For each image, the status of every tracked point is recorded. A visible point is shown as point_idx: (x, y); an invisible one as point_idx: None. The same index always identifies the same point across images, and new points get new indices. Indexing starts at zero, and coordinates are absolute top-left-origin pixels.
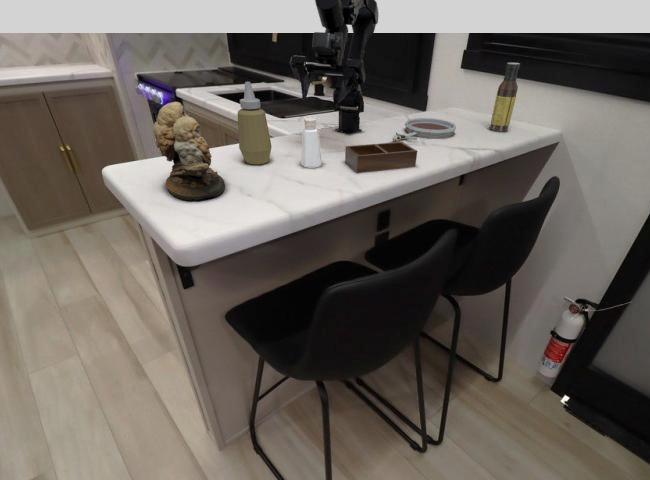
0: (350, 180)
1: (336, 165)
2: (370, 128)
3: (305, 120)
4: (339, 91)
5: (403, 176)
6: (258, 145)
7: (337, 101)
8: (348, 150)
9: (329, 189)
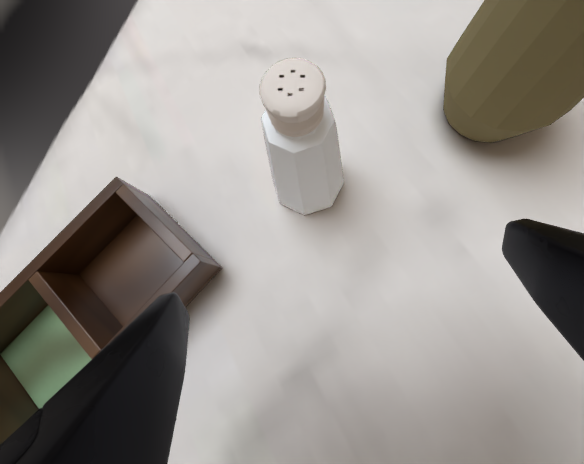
0: (146, 135)
1: (233, 221)
2: None
3: (302, 59)
4: (129, 348)
5: (19, 244)
6: (467, 26)
7: (180, 299)
8: (179, 237)
9: (171, 58)
